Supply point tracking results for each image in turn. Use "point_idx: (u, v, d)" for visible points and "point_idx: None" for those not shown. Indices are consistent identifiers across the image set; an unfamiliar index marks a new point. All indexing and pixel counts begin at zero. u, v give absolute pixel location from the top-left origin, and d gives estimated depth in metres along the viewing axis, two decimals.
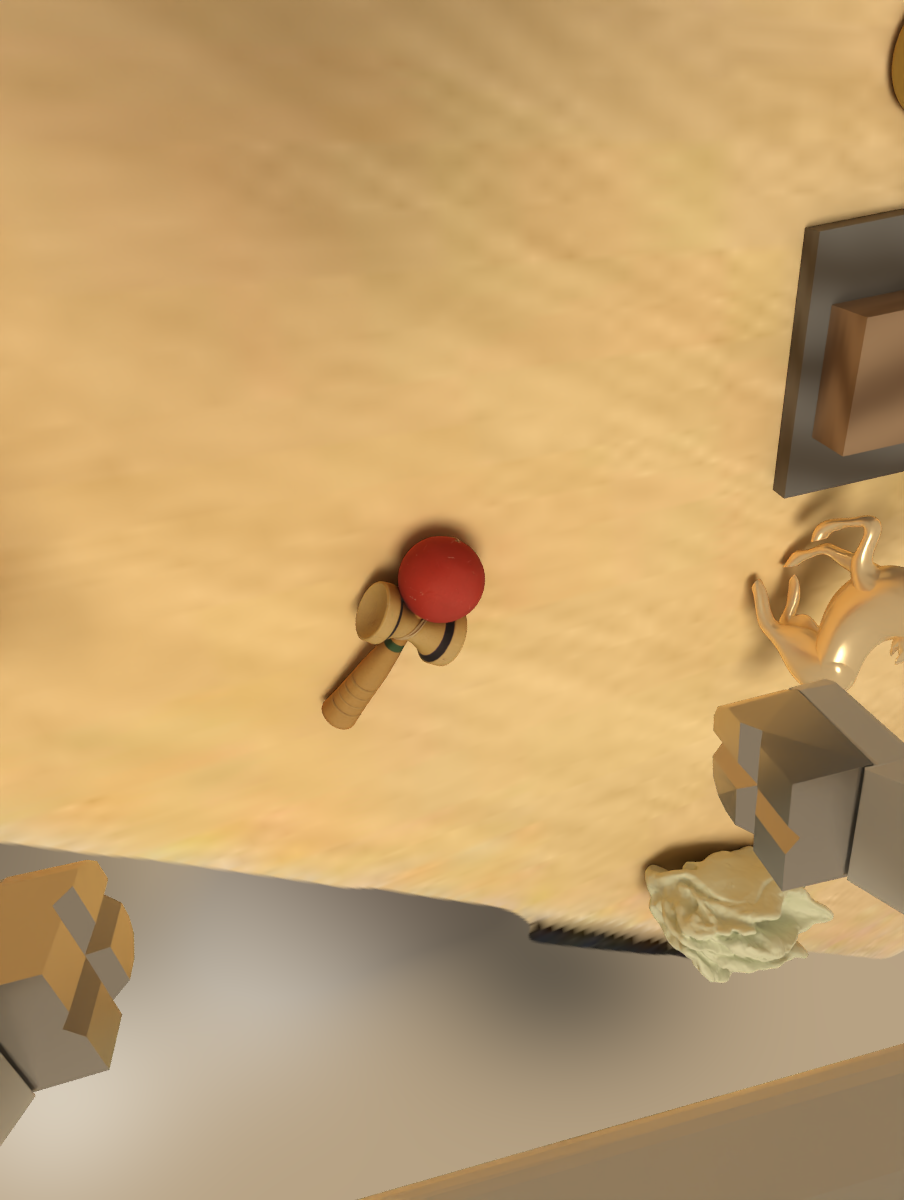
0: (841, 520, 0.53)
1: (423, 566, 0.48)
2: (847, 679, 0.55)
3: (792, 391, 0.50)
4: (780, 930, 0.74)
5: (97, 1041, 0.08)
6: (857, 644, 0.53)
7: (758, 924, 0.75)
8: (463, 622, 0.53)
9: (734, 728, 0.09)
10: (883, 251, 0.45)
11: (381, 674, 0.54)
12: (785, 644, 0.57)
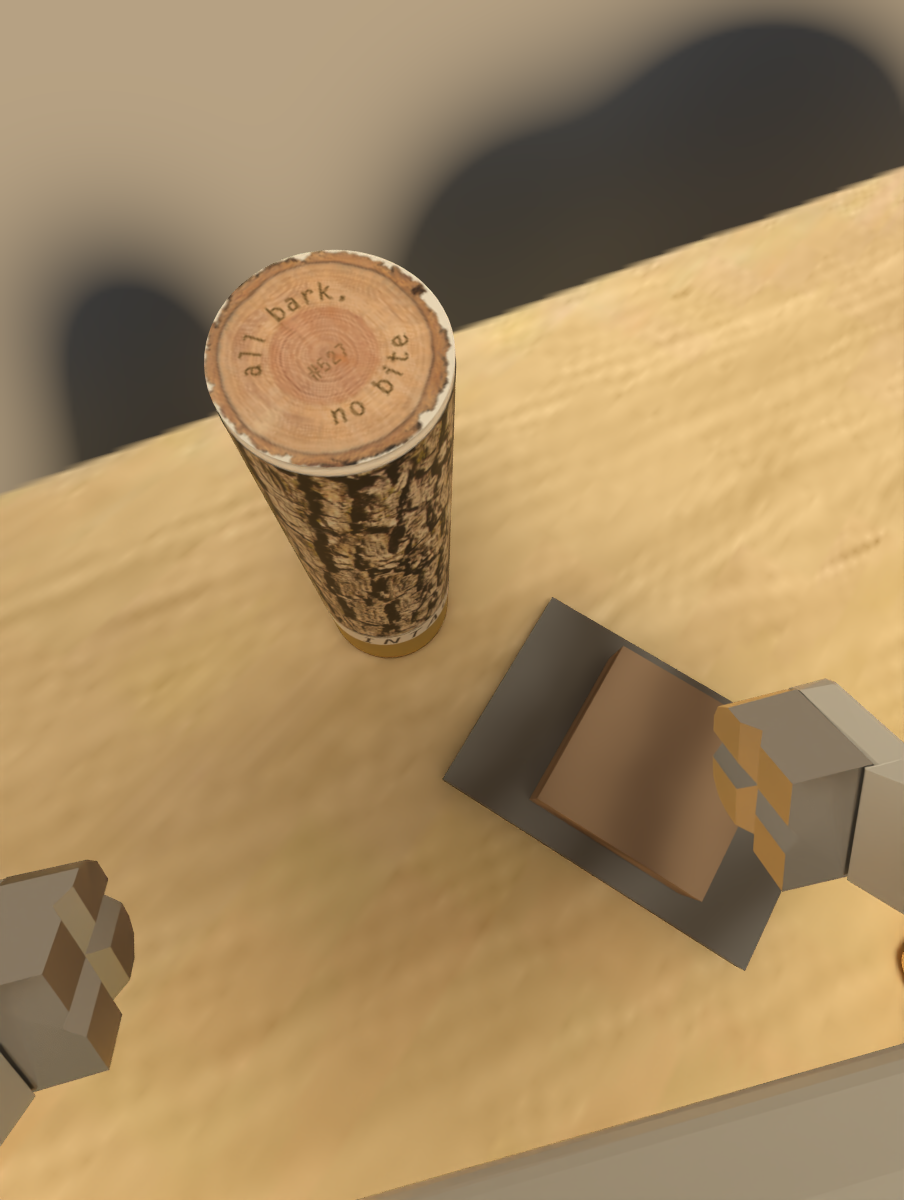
0: None
1: None
2: None
3: (604, 882, 0.39)
4: None
5: (97, 1041, 0.08)
6: None
7: None
8: None
9: (734, 729, 0.09)
10: (515, 725, 0.41)
11: None
12: None
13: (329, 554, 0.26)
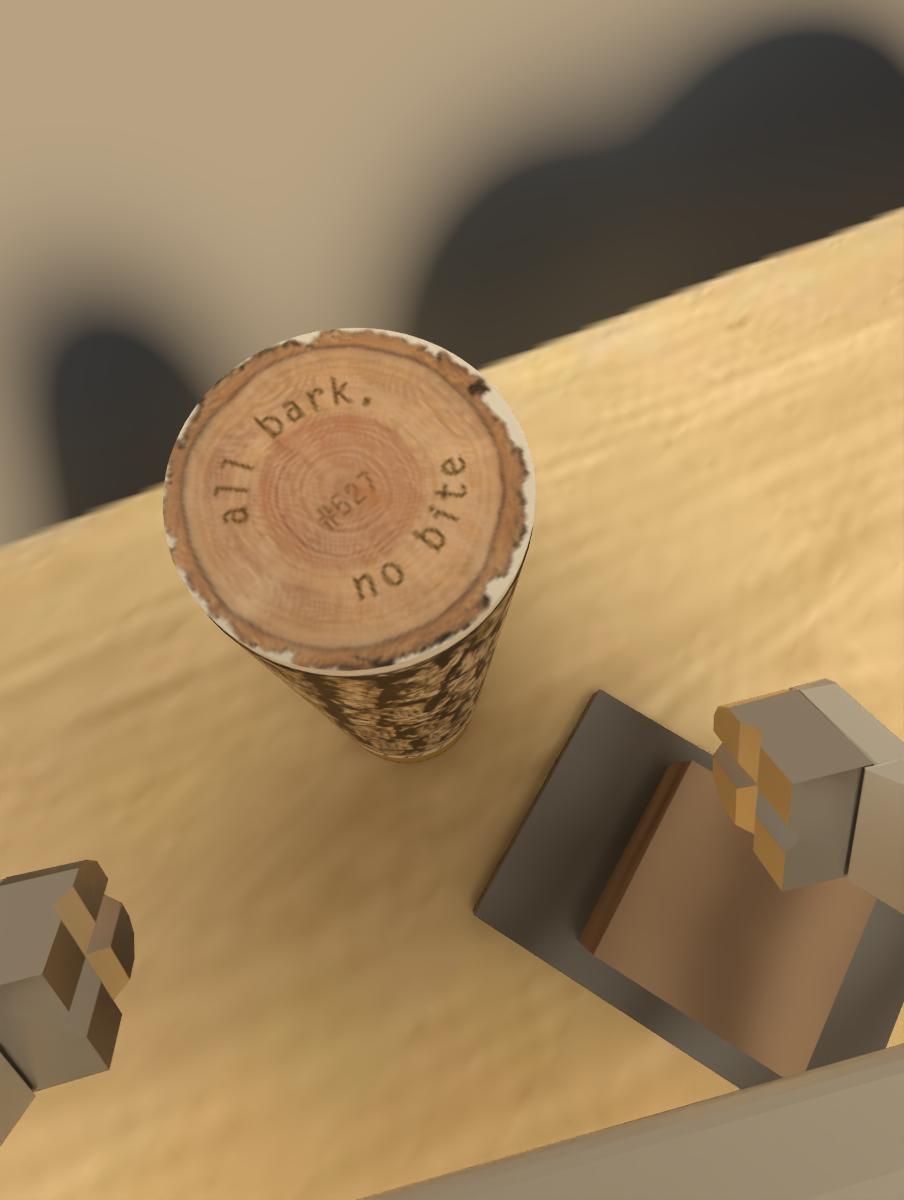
0: None
1: None
2: None
3: None
4: None
5: (97, 1041, 0.08)
6: None
7: None
8: None
9: (733, 728, 0.09)
10: (559, 848, 0.34)
11: None
12: None
13: (344, 716, 0.19)
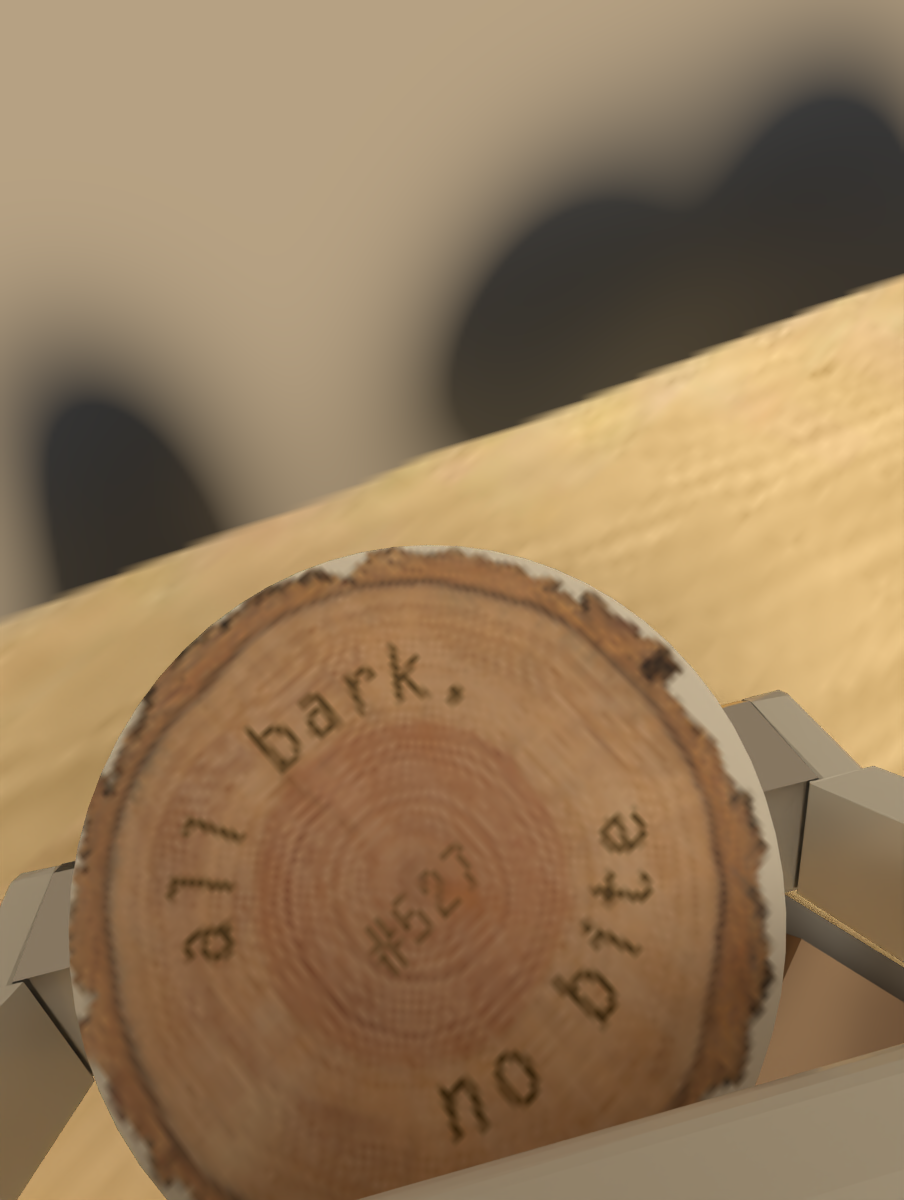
0: None
1: None
2: None
3: None
4: None
5: None
6: None
7: None
8: None
9: None
10: None
11: None
12: None
13: None
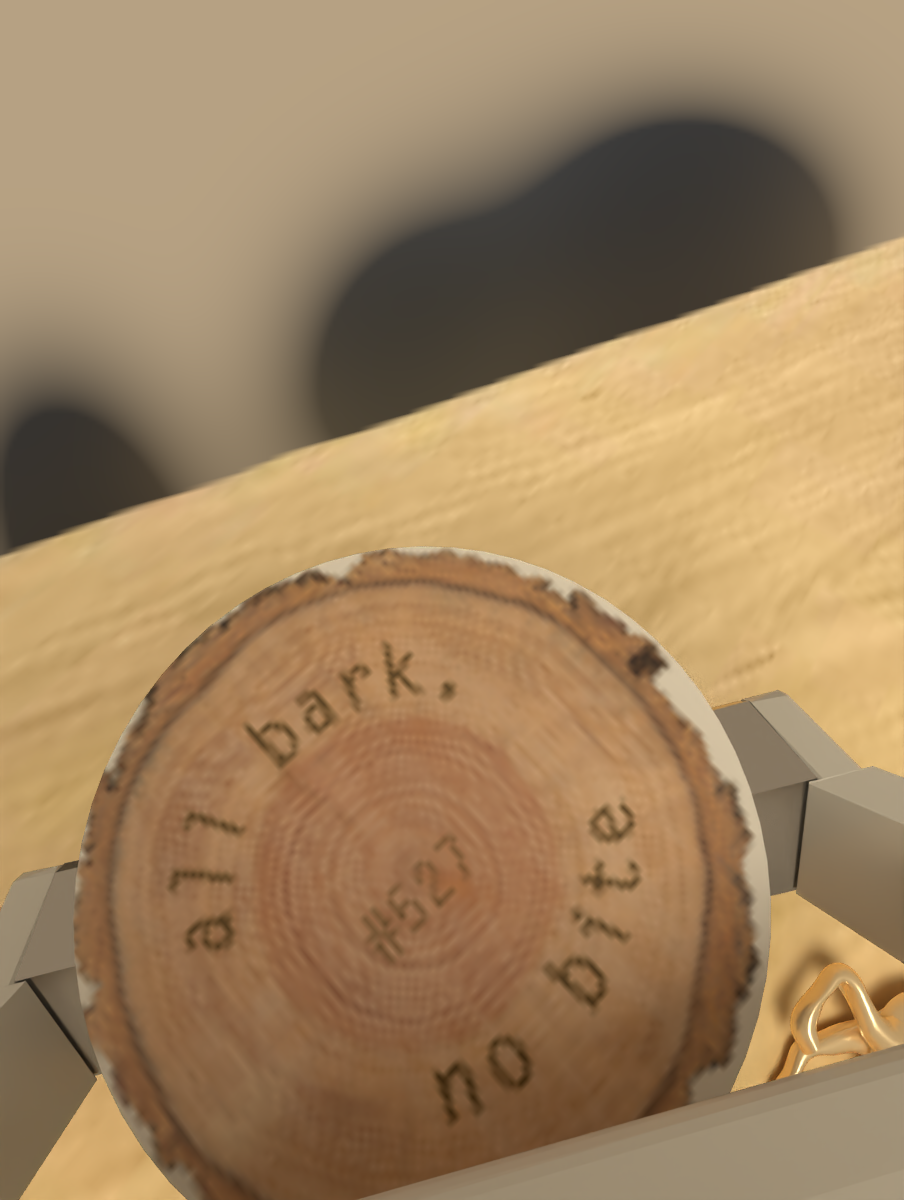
0: (818, 995, 0.38)
1: None
2: None
3: None
4: None
5: None
6: None
7: None
8: None
9: None
10: None
11: None
12: None
13: None
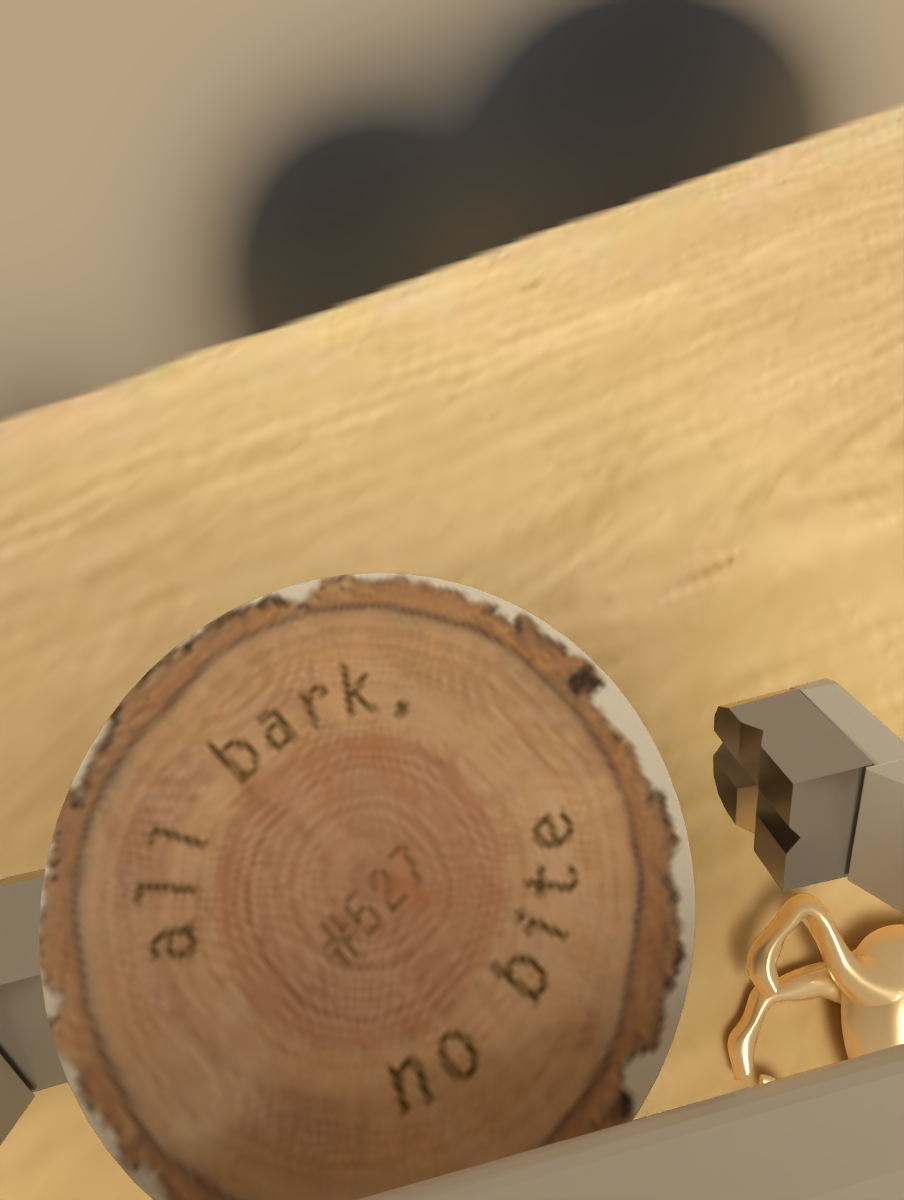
0: (778, 930, 0.33)
1: None
2: None
3: None
4: None
5: None
6: None
7: None
8: None
9: (734, 728, 0.09)
10: None
11: None
12: None
13: None
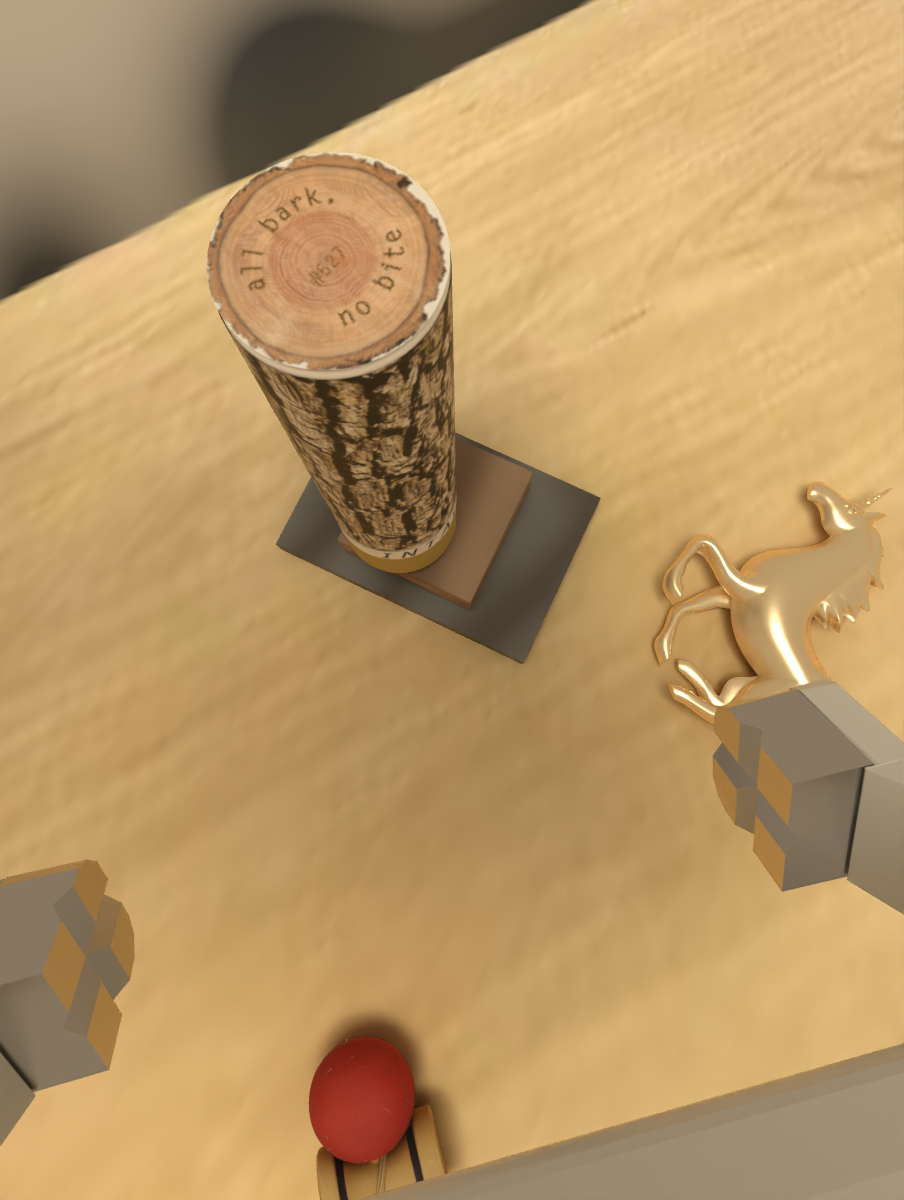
0: (681, 557, 0.46)
1: (312, 1104, 0.41)
2: None
3: (413, 610, 0.48)
4: None
5: (97, 1041, 0.08)
6: (808, 639, 0.45)
7: None
8: (425, 1125, 0.41)
9: (734, 728, 0.09)
10: None
11: None
12: None
13: (347, 464, 0.27)
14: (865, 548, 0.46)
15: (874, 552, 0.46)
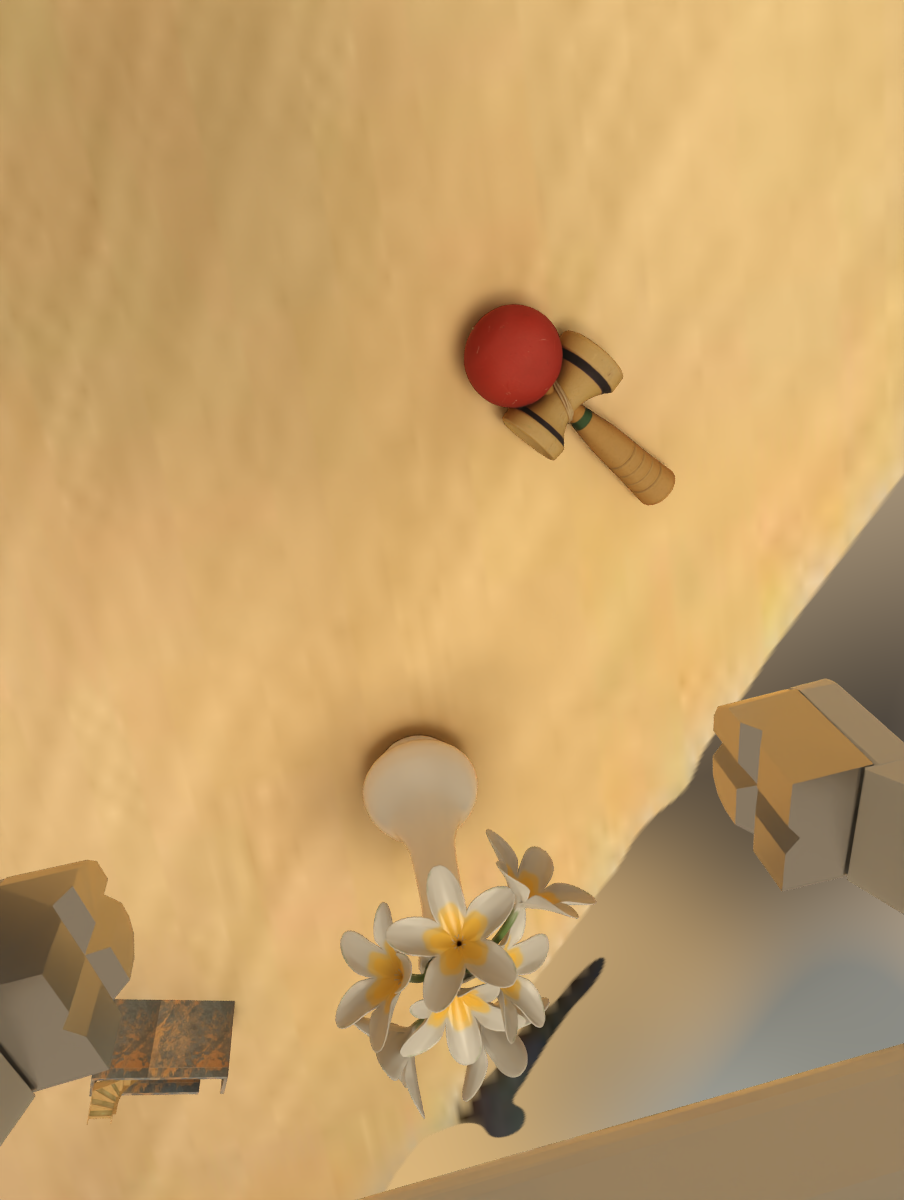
0: None
1: (481, 383, 0.44)
2: None
3: None
4: None
5: (97, 1041, 0.08)
6: None
7: None
8: (574, 338, 0.45)
9: (734, 729, 0.09)
10: None
11: (613, 441, 0.49)
12: None
13: None
14: None
15: None
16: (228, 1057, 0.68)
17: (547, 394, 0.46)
